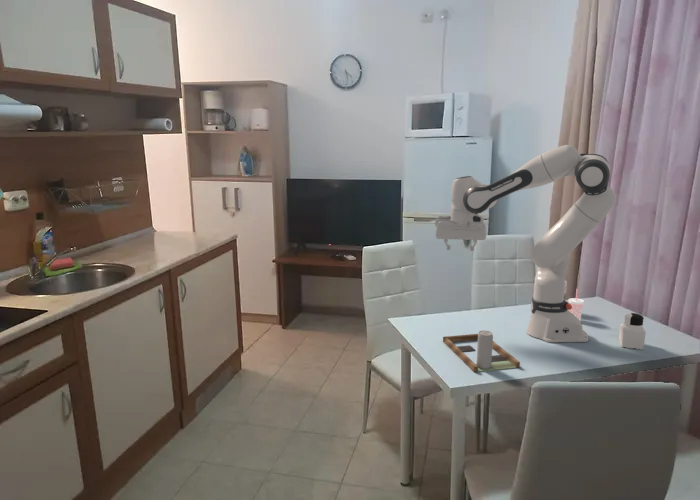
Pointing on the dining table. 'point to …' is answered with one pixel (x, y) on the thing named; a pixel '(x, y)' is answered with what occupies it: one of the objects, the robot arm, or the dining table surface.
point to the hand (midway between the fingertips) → (460, 250)
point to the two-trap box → (497, 360)
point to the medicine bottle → (632, 331)
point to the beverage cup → (576, 306)
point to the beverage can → (484, 349)
